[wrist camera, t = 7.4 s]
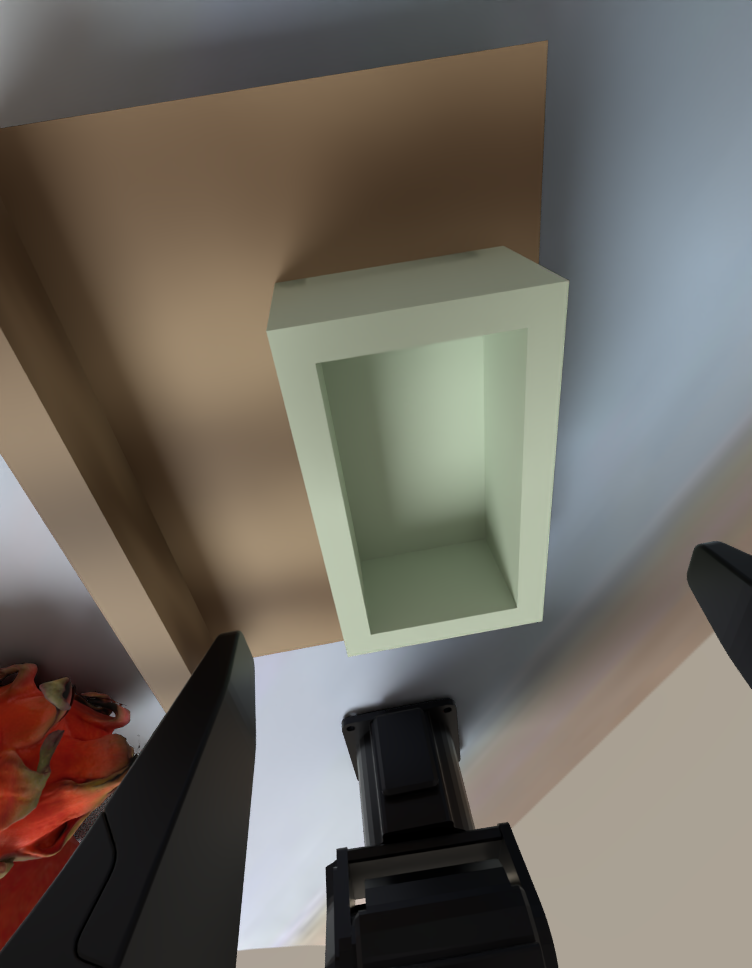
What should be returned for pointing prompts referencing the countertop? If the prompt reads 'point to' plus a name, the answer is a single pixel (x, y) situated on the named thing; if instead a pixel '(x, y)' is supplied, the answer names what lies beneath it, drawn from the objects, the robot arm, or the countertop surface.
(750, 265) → the countertop surface
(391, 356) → the sage tray
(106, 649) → the countertop surface
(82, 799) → the dragon fruit
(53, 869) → the apple
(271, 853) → the countertop surface
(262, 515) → the walnut shelf
